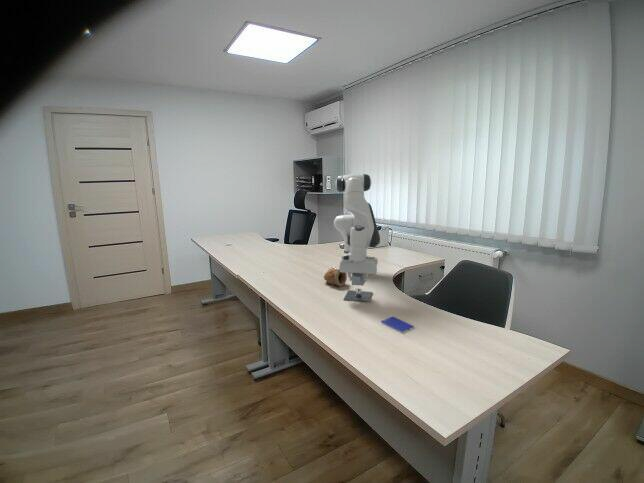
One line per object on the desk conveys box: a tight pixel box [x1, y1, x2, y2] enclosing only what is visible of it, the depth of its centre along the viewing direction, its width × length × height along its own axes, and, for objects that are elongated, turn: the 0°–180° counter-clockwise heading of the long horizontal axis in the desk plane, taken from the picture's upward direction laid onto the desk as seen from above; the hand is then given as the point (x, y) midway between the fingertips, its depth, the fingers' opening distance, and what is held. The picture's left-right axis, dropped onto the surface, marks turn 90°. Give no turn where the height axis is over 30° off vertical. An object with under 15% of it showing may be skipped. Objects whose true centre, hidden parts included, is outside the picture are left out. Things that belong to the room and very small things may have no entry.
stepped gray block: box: [351, 273, 366, 286], centre depth 177 cm, size 10×6×6 cm, turn 165°
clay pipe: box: [323, 268, 348, 287], centre depth 204 cm, size 19×11×15 cm
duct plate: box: [343, 288, 373, 303], centre depth 181 cm, size 14×14×4 cm
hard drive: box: [380, 316, 415, 334], centre depth 146 cm, size 2×8×12 cm
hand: (358, 280), depth 178 cm, fingers closed on stepped gray block, 6 cm apart
